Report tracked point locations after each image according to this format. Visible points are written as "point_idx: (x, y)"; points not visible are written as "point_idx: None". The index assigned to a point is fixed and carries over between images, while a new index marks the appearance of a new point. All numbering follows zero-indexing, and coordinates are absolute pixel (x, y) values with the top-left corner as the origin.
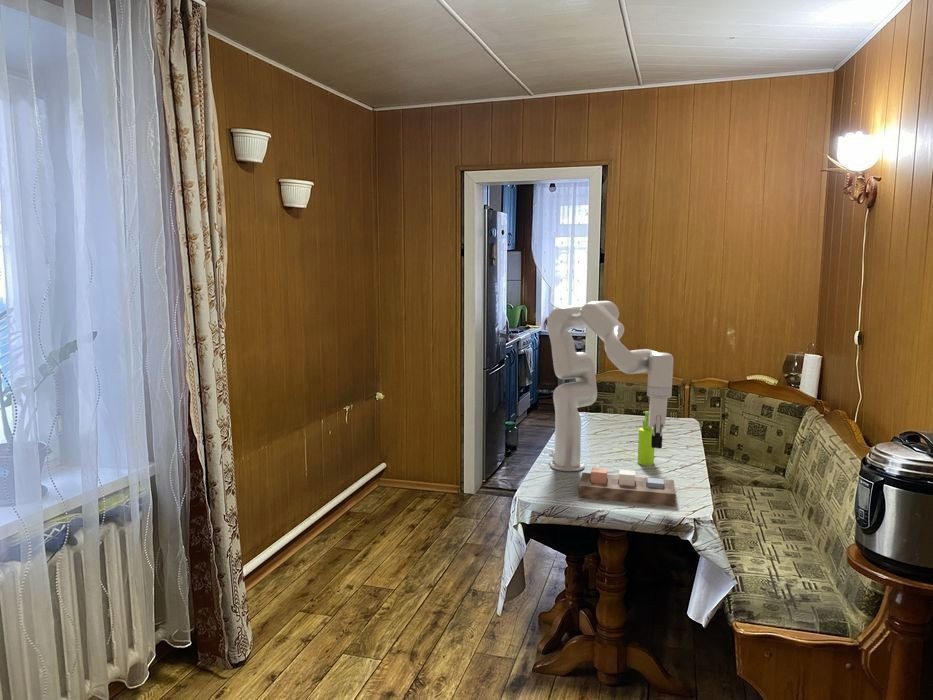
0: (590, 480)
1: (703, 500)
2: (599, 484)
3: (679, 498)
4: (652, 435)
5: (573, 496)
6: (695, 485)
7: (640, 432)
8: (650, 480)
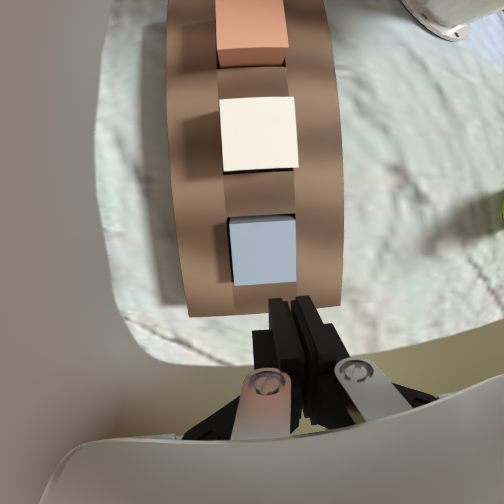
0: None
1: None
2: (198, 47)
3: None
4: (287, 362)
5: None
6: (388, 336)
7: None
8: (261, 234)
